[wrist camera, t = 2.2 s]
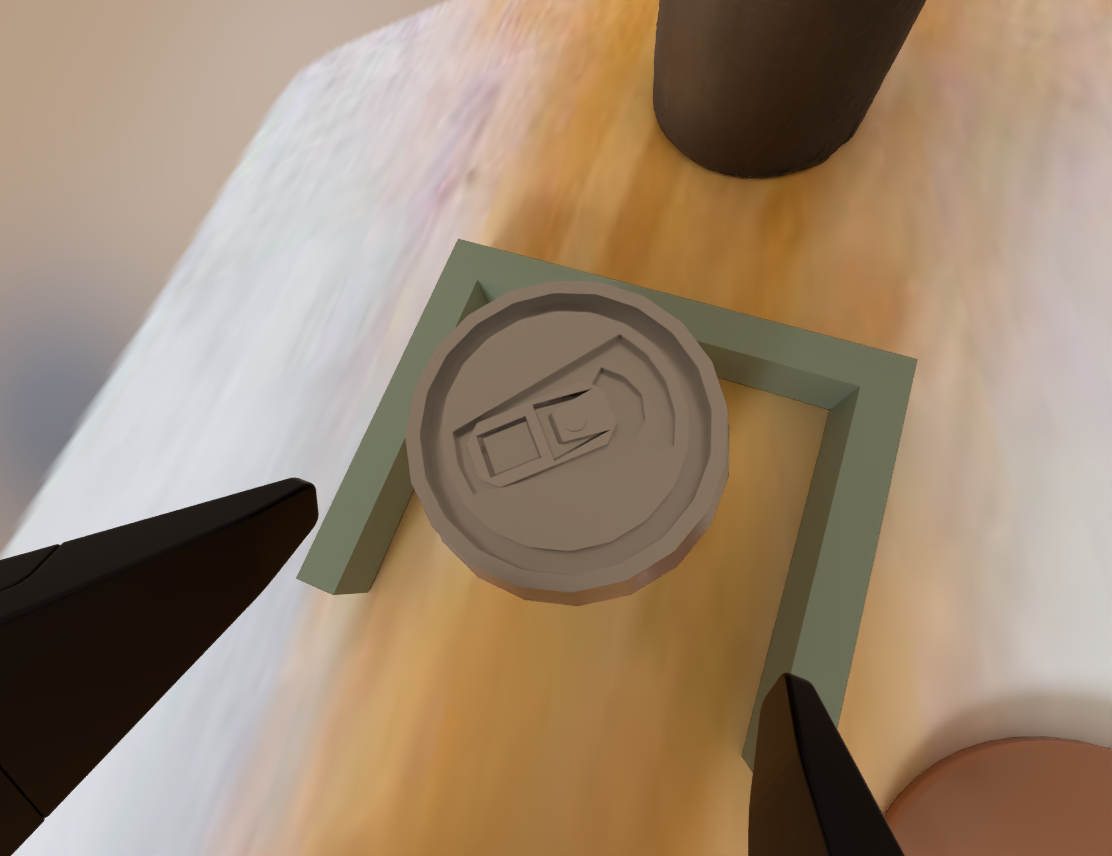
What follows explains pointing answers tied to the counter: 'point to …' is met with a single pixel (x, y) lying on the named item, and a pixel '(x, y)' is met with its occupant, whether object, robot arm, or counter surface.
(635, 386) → the beer can
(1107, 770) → the saucer
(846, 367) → the green u-shaped bracket
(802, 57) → the pillar candle
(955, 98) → the counter surface
